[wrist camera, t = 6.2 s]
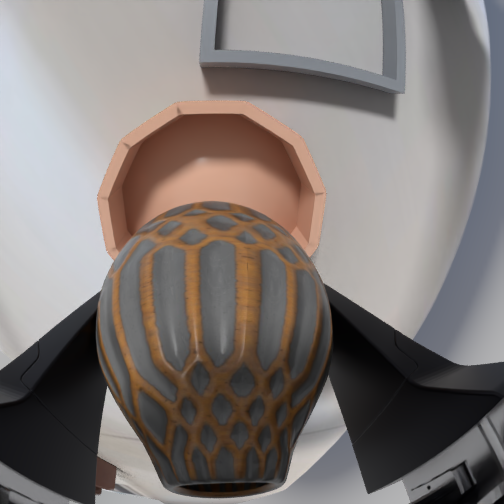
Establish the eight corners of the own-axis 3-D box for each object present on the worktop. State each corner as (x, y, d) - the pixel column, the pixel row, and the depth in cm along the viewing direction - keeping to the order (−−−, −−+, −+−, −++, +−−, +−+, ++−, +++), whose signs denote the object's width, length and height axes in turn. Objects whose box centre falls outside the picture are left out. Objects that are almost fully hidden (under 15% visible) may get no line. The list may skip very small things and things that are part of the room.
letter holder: (90, 462, 46) (86, 503, 34) (40, 431, 36) (30, 478, 24) (117, 466, 46) (115, 510, 34) (67, 435, 36) (58, 489, 24)
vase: (131, 311, 12) (94, 490, 4) (137, 165, 9) (-37, 358, 1) (268, 328, 14) (311, 496, 6) (315, 199, 10) (473, 383, 3)
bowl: (314, 109, 16) (335, 110, 13) (295, 280, 22) (306, 306, 19) (111, 111, 14) (90, 113, 11) (132, 284, 21) (122, 312, 18)
